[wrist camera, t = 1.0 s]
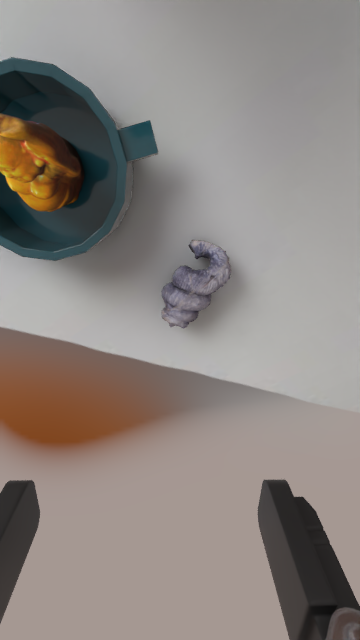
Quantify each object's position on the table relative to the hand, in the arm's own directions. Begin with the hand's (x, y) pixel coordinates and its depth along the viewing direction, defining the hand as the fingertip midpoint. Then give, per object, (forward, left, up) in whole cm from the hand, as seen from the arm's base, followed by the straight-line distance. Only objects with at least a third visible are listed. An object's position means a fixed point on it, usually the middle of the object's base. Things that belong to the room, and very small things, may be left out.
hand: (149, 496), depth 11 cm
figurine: (-14, -7, -26) cm, 30 cm away
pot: (-14, -7, -26) cm, 30 cm away
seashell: (0, +3, -26) cm, 26 cm away
